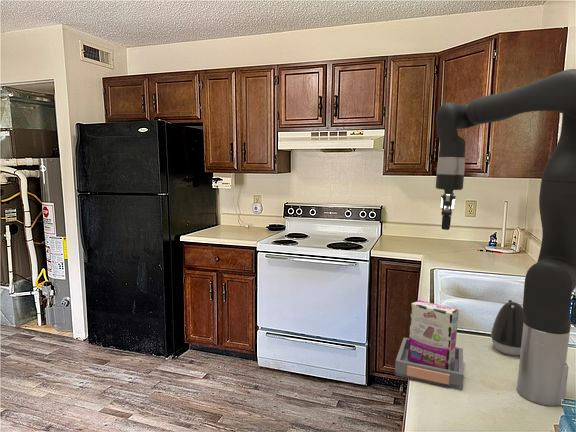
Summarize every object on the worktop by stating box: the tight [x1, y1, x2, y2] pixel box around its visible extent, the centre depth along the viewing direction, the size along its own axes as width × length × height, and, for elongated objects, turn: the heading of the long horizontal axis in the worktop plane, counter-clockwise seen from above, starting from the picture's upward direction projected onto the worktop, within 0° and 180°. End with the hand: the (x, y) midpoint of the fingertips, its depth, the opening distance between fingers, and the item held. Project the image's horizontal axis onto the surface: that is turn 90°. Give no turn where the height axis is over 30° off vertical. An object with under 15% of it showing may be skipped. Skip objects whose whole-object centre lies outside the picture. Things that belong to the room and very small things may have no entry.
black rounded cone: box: [490, 299, 524, 356], centre depth 119 cm, size 10×10×15 cm
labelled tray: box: [394, 337, 464, 391], centre depth 107 cm, size 16×17×4 cm
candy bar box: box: [408, 299, 459, 371], centre depth 107 cm, size 11×5×16 cm, turn 47°
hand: (445, 227), depth 120 cm, fingers open, 8 cm apart
